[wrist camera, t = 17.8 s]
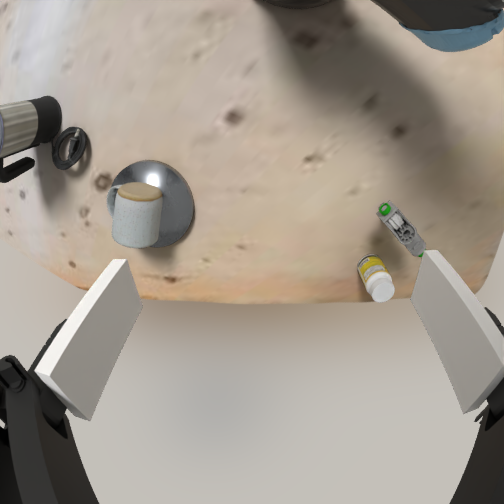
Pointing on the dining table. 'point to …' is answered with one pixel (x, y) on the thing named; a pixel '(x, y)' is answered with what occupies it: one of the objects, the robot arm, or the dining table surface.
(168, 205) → the plate
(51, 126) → the milk frother
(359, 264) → the supplement bottle
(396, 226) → the mechanical component
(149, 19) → the dining table surface
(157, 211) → the ceramic mug
